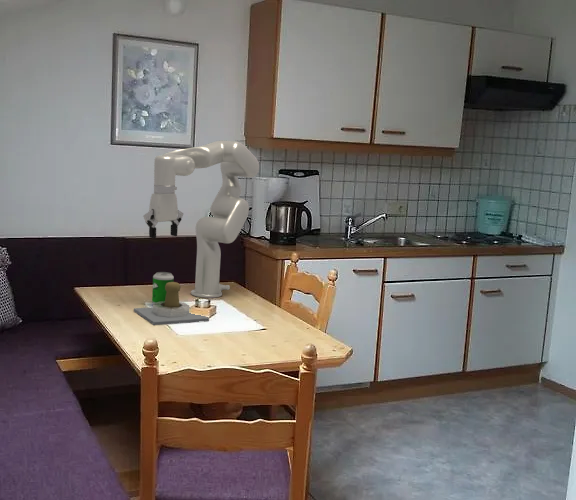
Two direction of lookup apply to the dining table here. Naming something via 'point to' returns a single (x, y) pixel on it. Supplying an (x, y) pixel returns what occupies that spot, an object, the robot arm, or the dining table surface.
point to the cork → (172, 294)
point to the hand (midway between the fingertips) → (163, 236)
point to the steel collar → (170, 310)
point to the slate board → (159, 320)
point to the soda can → (160, 286)
